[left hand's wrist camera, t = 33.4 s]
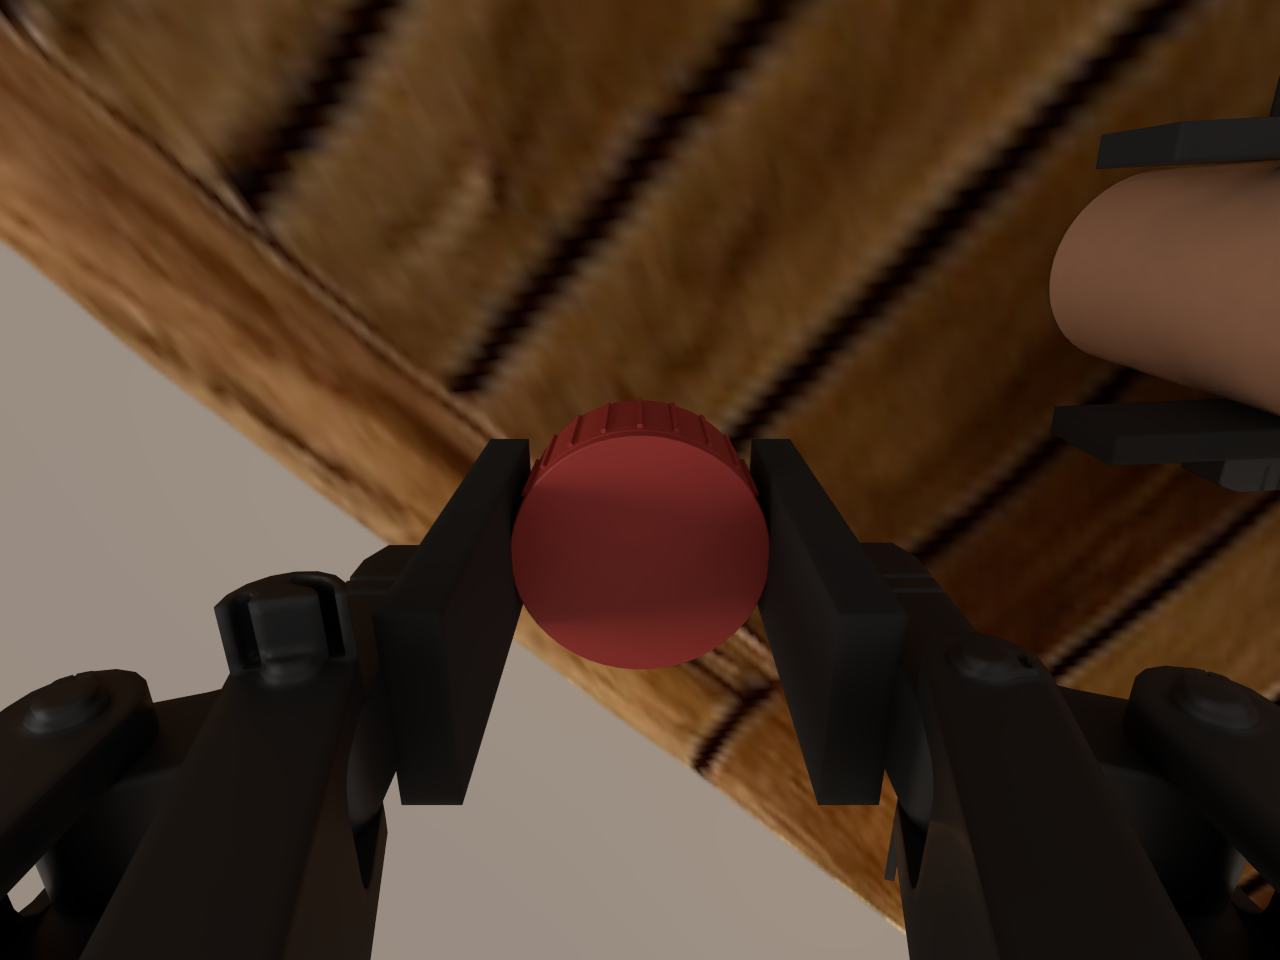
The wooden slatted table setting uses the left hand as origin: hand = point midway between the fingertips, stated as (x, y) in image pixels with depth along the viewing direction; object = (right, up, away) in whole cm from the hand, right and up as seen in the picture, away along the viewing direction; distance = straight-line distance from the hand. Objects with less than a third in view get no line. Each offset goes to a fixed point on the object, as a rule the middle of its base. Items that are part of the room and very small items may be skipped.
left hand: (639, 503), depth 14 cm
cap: (0, -1, -2) cm, 2 cm away
